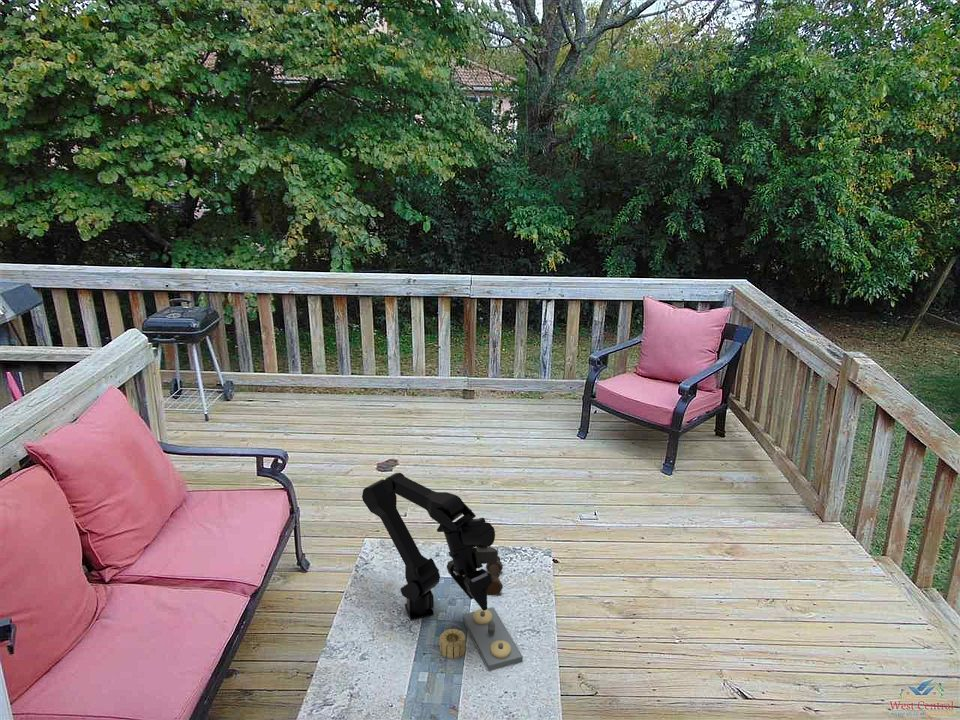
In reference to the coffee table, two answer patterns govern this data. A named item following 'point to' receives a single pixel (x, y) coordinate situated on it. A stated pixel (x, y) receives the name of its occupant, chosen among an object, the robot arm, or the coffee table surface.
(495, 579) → the bolt
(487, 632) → the gear board
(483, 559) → the robot arm
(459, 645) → the brass gear
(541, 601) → the coffee table surface
